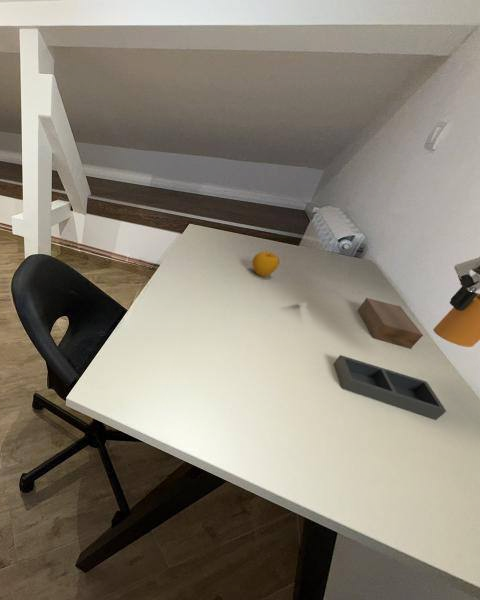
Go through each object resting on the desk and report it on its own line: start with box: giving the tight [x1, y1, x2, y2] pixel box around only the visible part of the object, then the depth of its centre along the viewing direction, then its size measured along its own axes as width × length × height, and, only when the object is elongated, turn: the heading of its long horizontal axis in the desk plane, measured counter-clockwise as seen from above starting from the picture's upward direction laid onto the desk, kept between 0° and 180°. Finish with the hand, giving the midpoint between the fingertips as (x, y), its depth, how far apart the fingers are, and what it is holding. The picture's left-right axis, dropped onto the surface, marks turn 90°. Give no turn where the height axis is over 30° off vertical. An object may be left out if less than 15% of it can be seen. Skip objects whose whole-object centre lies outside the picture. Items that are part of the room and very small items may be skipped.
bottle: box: [432, 292, 480, 348], centre depth 60 cm, size 6×6×12 cm
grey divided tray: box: [333, 354, 447, 421], centre depth 71 cm, size 9×17×4 cm, turn 66°
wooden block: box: [357, 297, 424, 349], centre depth 93 cm, size 9×16×5 cm, turn 156°
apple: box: [251, 251, 280, 278], centre depth 115 cm, size 9×8×9 cm
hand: (478, 311), depth 60 cm, fingers closed on bottle, 6 cm apart
